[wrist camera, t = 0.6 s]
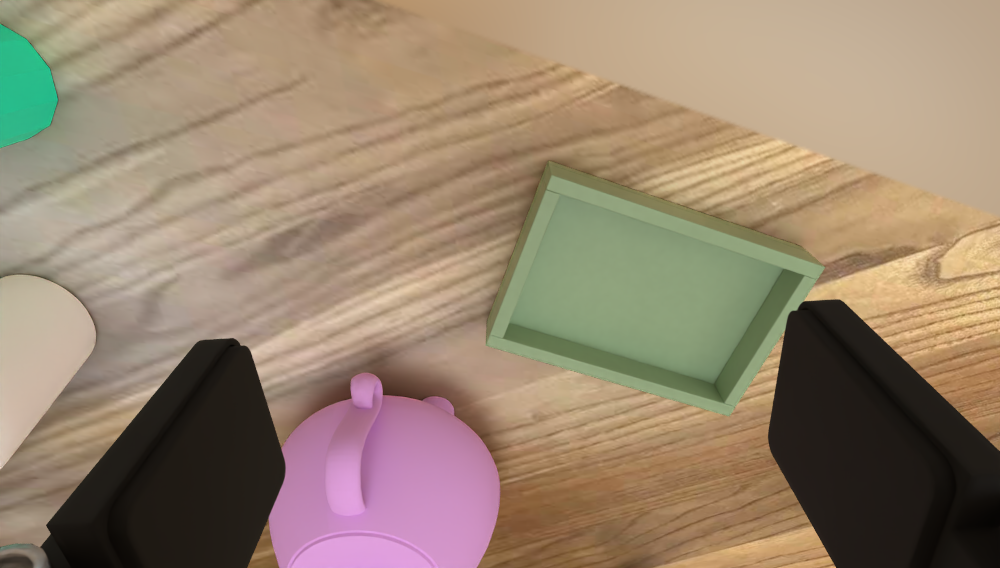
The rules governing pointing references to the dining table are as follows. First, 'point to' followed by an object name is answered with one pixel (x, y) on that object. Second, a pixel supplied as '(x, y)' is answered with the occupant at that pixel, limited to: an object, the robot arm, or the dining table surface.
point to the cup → (37, 352)
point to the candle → (23, 90)
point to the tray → (645, 291)
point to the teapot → (384, 486)
